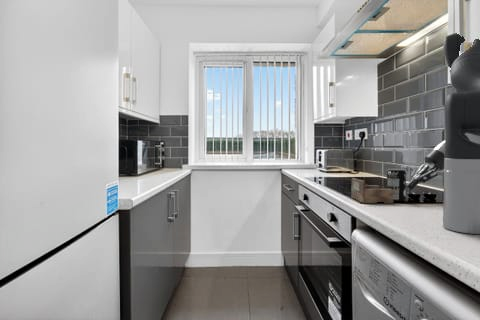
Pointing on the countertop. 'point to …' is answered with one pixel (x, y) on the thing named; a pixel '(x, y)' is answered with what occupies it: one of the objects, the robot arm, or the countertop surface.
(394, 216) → the countertop surface
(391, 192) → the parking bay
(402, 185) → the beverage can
